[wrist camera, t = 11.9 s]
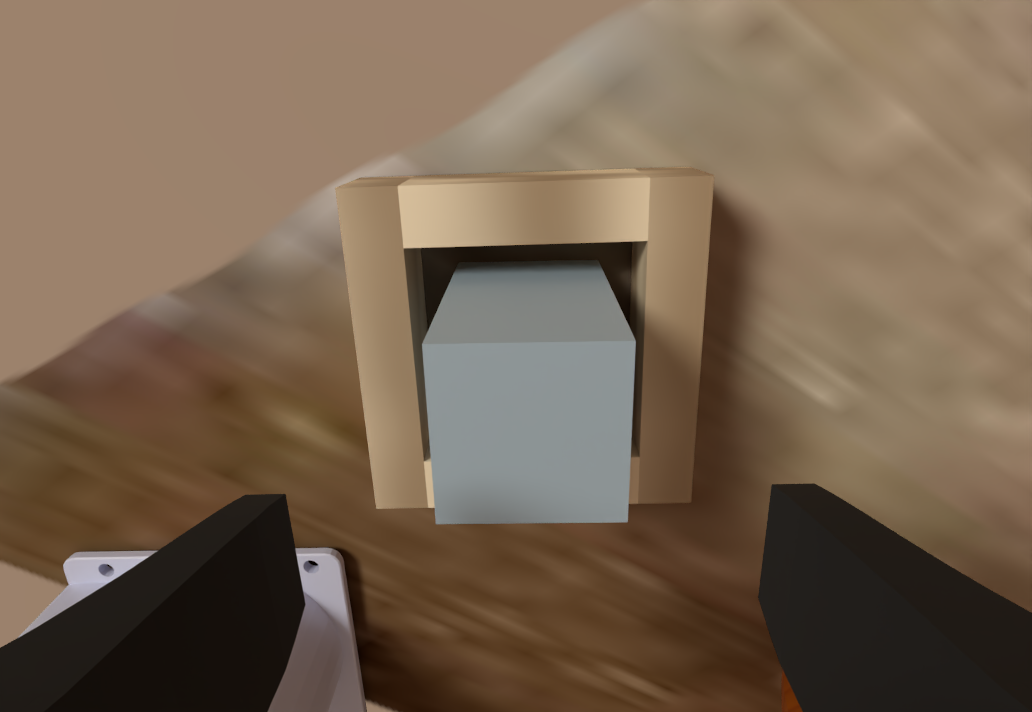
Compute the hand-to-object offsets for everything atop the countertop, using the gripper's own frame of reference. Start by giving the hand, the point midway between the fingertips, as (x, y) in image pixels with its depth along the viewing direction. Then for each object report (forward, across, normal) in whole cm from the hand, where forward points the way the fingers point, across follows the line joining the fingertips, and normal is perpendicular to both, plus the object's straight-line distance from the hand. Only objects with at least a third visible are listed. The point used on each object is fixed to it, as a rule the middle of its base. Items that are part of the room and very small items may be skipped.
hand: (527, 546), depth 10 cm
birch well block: (+10, 0, 0) cm, 10 cm away
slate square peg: (+10, 0, 0) cm, 10 cm away
